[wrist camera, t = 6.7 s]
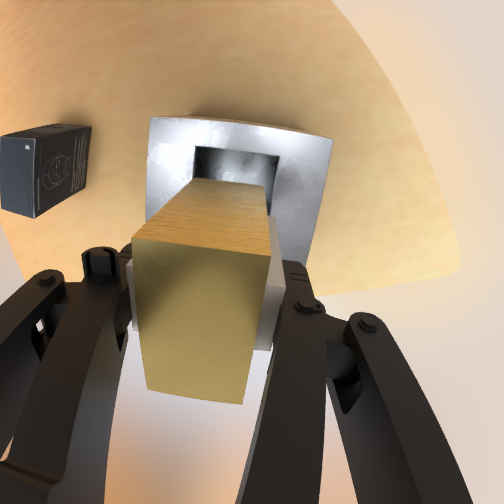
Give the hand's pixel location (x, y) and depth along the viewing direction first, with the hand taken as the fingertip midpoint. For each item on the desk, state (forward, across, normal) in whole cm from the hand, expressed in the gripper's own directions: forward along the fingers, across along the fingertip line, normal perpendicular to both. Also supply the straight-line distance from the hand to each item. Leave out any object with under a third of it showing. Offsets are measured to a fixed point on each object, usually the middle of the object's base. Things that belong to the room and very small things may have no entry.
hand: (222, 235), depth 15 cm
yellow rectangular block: (0, 0, 0) cm, 0 cm away
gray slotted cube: (+17, 0, 0) cm, 17 cm away
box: (+17, -21, +1) cm, 27 cm away
